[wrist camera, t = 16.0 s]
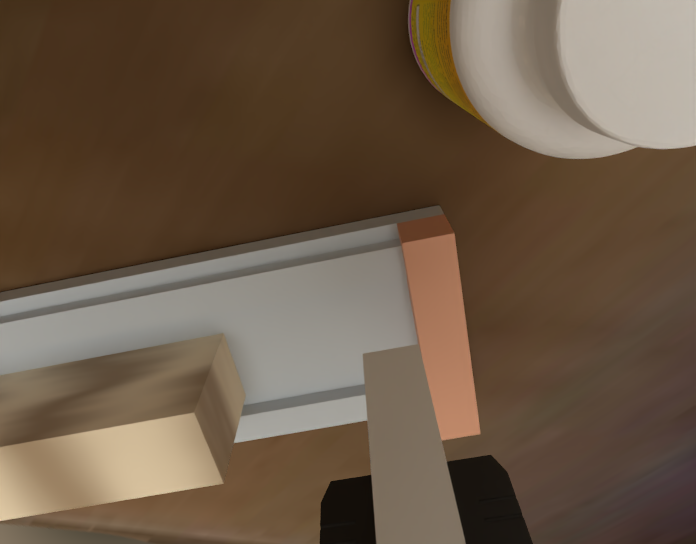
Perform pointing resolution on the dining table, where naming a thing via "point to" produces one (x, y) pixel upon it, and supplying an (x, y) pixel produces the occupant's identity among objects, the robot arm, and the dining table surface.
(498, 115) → the supplement bottle
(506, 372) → the dining table surface
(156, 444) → the tan wooden block
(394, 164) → the dining table surface
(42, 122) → the dining table surface
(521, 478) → the dining table surface
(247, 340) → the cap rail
